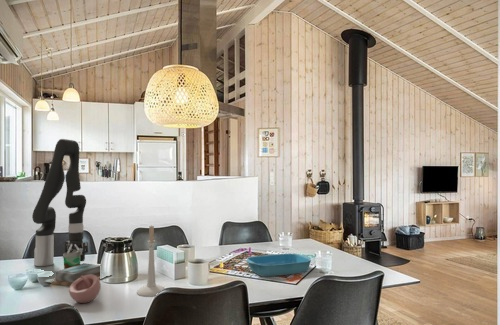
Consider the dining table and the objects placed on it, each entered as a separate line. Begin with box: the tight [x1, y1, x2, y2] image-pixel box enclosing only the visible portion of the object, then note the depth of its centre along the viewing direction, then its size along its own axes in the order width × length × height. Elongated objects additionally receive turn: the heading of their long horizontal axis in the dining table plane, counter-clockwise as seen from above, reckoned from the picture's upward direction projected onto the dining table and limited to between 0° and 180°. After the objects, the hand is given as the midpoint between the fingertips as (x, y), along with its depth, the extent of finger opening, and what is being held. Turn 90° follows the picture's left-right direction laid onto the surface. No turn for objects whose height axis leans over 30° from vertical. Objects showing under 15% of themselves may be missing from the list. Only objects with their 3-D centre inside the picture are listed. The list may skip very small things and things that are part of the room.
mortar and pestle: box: [68, 274, 101, 304], centre depth 158 cm, size 12×12×12 cm
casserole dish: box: [245, 253, 312, 277], centre depth 206 cm, size 37×22×7 cm, turn 112°
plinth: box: [51, 262, 102, 287], centre depth 192 cm, size 22×22×5 cm
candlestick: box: [136, 225, 166, 298], centre depth 172 cm, size 13×13×30 cm
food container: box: [62, 250, 81, 269], centre depth 209 cm, size 12×6×10 cm, turn 168°
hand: (76, 260), depth 210 cm, fingers open, 8 cm apart
